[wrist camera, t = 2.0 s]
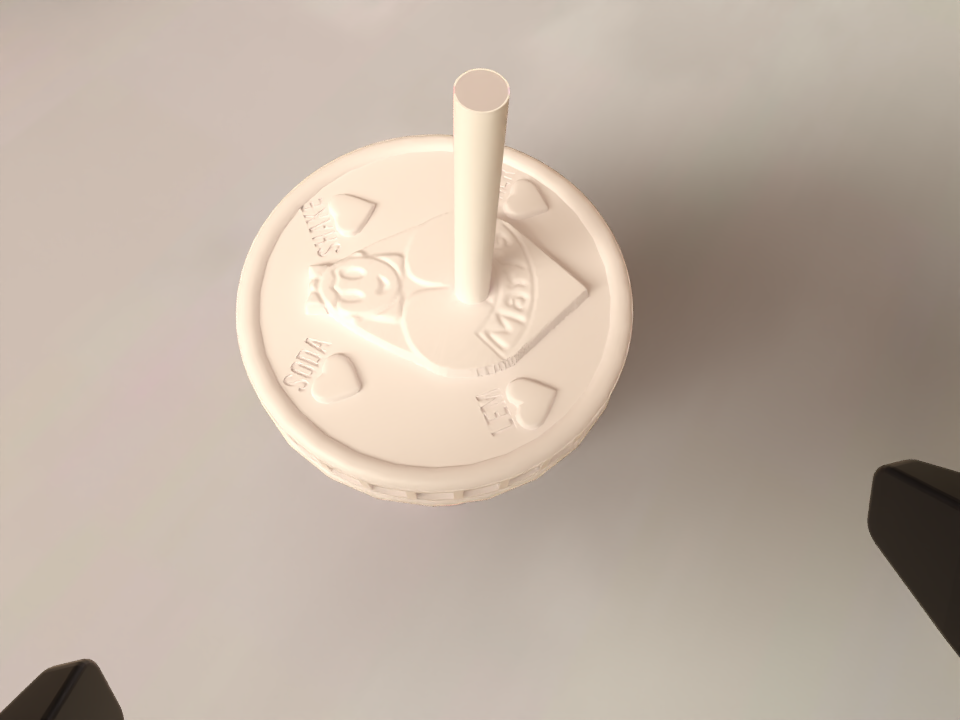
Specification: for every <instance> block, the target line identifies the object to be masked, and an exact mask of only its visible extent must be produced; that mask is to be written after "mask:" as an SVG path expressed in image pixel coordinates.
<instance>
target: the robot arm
mask: <svg viewBox="0 0 960 720" xmlns="http://www.w3.org/2000/svg"><path fill="white" fill-rule="evenodd" d="M867 523H868V529H869V532H870V535H871V537H872V539H873V540H874V542H875V544H876V545H877V546H878V548H879V549H880V551H881V552H882V553H883V555H884V556H885V557H886V559H887V560H888V561H889V563H890V564H891V566H892V567H893V568H894V570H895V571H896V572H897V574H898V575H899V577H900V578H901V579H902V581H903V582H904V583H905V585H906V586H907V587H908V589H909V590H910V592H911V593H912V594H913V596H914V597H915V598H916V600H917V601H918V603H919V604H920V605H921V607H922V608H923V609H924V611H925V612H926V613H927V615H928V616H929V618H930V619H931V620H932V622H933V623H934V624H935V626H936V627H937V629H938V630H939V631H940V633H941V634H942V635H943V637H944V638H945V639H946V640H947V642H948V643H949V644H950V646H951V647H952V648H953V650H954V651H955V652H956V653H957V655H958V656H959V657H960V472H956V471H953V470H950V469H946V468H943V467H939V466H936V465H932V464H929V463H926V462H922V461H919V460H913V459H909V460H903V461H899V462H894V463H890V464H886V465H883V466H881V467H879V468H878V469H877V470H876V472H875V473H874V476H873V481H872V489H871V496H870V503H869V511H868V518H867ZM0 720H124V717H123V713H122V710H121V707H120V705H119V703H118V701H117V700H116V698H115V696H114V694H113V692H112V690H111V688H110V687H109V685H108V683H107V681H106V679H105V677H104V675H103V674H102V672H101V670H100V668H99V667H98V665H97V664H96V663H95V662H94V661H92V660H90V659H81V660H77V661H73V662H68V663H64V664H60V665H56V666H53V667H50V668H48V669H46V670H45V671H44V672H42V673H41V674H40V675H39V676H38V677H37V678H36V679H35V680H34V681H33V682H32V683H31V684H30V685H29V686H28V687H26V688H25V689H24V690H23V691H22V692H21V693H20V694H19V695H18V696H17V697H16V698H15V699H14V700H13V701H12V702H11V703H10V704H9V705H8V706H7V707H6V708H5V709H4V710H3V711H2V712H1V713H0Z"/></svg>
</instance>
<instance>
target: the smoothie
mask: <svg viewBox="0 0 960 720" xmlns="http://www.w3.org/2000/svg"><path fill="white" fill-rule="evenodd" d="M509 95H510V88H509V85H508V82H507V81H506V80H505V78H504V77H503V76H502V75H500V74H499V73H497V72H495V71H493V70H489V69H483V68H479V69H472V70H469V71H466V72H465V73H463V74H461V75H460V76H459V77H458V78H457V80H456V81H455V84H454V88H453V135H416V136H406V137H400V138H395V139H389V140H385V141H381V142H378V143H374V144H370V145H368V146H365V147H362V148H359V149H356V150H354V151H352V152H349V153H347V154H345V155H343V156H341V157H338V158H337V159H335V160H333V161H331V162H329V163H328V164H326V165H324V166H322V167H321V168H319V169H318V170H317V171H315V172H314V173H312V174H311V175H309V176H308V177H307V178H305V179H304V180H303V181H302V182H301V183H299V184H298V185H297V186H296V187H295V188H294V189H292V190H291V191H290V192H289V193H288V194H287V195H286V196H285V197H284V198H283V199H282V201H281V202H280V203H279V204H278V205H277V206H276V208H275V209H274V210H273V211H272V212H271V214H270V215H269V217H268V218H267V220H266V221H265V222H264V224H263V225H262V227H261V229H260V230H259V232H258V234H257V236H256V238H255V239H254V241H253V243H252V246H251V248H250V250H249V252H248V255H247V257H246V260H245V263H244V266H243V270H242V273H241V277H240V282H239V287H238V292H237V304H236V328H237V336H238V343H239V348H240V352H241V356H242V360H243V364H244V366H245V369H246V372H247V374H248V377H249V380H250V382H251V384H252V386H253V388H254V390H255V392H256V394H257V396H258V398H259V399H260V401H261V404H262V406H263V407H264V408H265V410H266V411H267V413H268V414H269V416H270V417H271V419H272V420H273V422H274V423H275V425H276V426H277V428H278V429H279V430H280V432H281V433H282V435H283V436H284V438H285V439H286V441H287V442H288V444H289V445H290V446H291V447H292V448H294V449H295V450H296V451H297V452H298V453H300V454H301V455H302V456H303V457H305V458H306V459H307V460H308V461H309V462H311V463H312V464H313V465H314V466H316V467H317V468H318V469H319V470H321V471H322V472H323V473H324V474H325V475H327V476H328V477H329V478H331V479H333V480H336V481H338V482H340V483H343V484H345V485H347V486H349V487H352V488H354V489H356V490H359V491H361V492H363V493H366V494H368V495H370V496H373V497H375V498H377V499H381V500H389V501H396V502H403V503H410V504H418V505H425V506H432V507H434V506H452V505H458V504H462V503H465V502H473V501H481V500H487V499H490V498H492V497H495V496H497V495H500V494H502V493H504V492H507V491H509V490H512V489H514V488H516V487H519V486H521V485H524V484H526V483H529V482H531V481H533V480H536V479H537V478H539V477H540V476H541V475H543V474H544V473H545V472H546V471H548V470H549V469H550V468H551V467H553V466H554V465H555V464H557V463H558V462H559V461H560V460H562V459H563V458H564V457H566V456H567V455H568V454H569V453H571V452H572V451H573V450H575V449H576V448H577V447H578V446H579V444H580V443H581V442H582V440H583V439H584V437H585V436H586V435H587V433H588V432H589V431H590V429H591V428H592V426H593V425H594V424H595V422H596V421H597V420H598V418H599V417H600V415H601V414H602V413H603V411H604V410H605V409H606V407H607V404H608V401H609V398H610V396H611V393H612V391H613V389H614V388H615V386H616V384H617V382H618V379H619V377H620V374H621V372H622V370H623V367H624V364H625V361H626V357H627V354H628V351H629V345H630V340H631V334H632V324H633V298H632V291H631V284H630V278H629V274H628V271H627V267H626V263H625V260H624V258H623V255H622V252H621V250H620V247H619V245H618V243H617V241H616V239H615V237H614V235H613V233H612V231H611V229H610V228H609V226H608V225H607V223H606V221H605V220H604V218H603V217H602V216H601V214H600V213H599V212H598V210H597V209H596V208H595V206H594V205H593V204H592V203H591V202H590V201H589V200H588V199H587V197H586V196H585V195H584V194H583V193H582V192H581V191H580V190H579V189H578V188H576V187H575V186H574V185H573V184H572V183H571V182H570V181H569V180H567V179H566V178H565V177H563V176H562V175H561V174H559V173H558V172H557V171H555V170H554V169H552V168H550V167H549V166H547V165H546V164H544V163H542V162H541V161H539V160H537V159H535V158H533V157H531V156H529V155H527V154H525V153H523V152H520V151H518V150H515V149H513V148H510V147H507V146H504V144H505V134H506V124H507V115H508V105H509Z"/></svg>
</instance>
